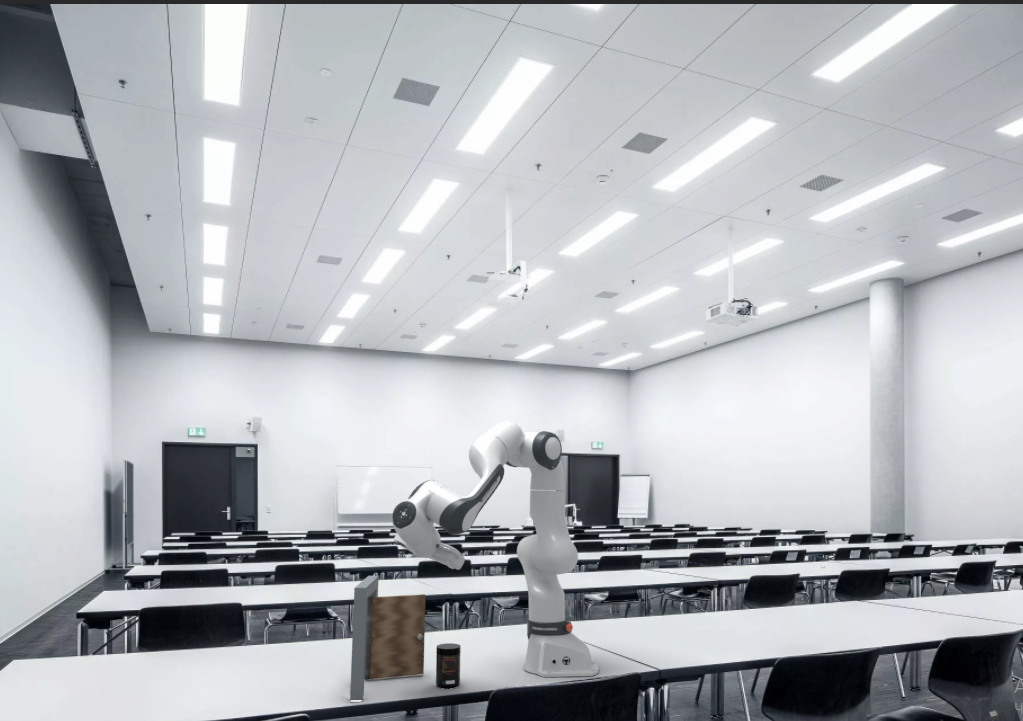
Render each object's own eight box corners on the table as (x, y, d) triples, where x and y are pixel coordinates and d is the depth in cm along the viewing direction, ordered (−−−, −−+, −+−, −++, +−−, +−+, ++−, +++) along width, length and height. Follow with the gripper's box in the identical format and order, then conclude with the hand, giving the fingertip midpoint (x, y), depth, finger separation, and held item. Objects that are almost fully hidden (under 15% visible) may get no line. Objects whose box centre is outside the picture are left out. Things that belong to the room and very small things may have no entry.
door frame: (364, 676, 197) (368, 575, 202) (375, 676, 197) (378, 575, 202) (349, 702, 173) (354, 587, 178) (361, 702, 174) (366, 587, 179)
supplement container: (455, 681, 192) (456, 642, 194) (463, 687, 186) (464, 647, 188) (432, 684, 190) (433, 644, 192) (439, 690, 184) (440, 649, 185)
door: (366, 681, 190) (369, 599, 194) (364, 678, 193) (367, 597, 197) (424, 675, 196) (426, 595, 200) (422, 672, 199) (424, 594, 203)
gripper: (460, 542, 185) (474, 562, 195) (400, 518, 194) (416, 539, 204) (449, 562, 181) (464, 582, 192) (388, 538, 190) (405, 558, 201)
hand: (439, 560), depth 198 cm, fingers open, 8 cm apart
